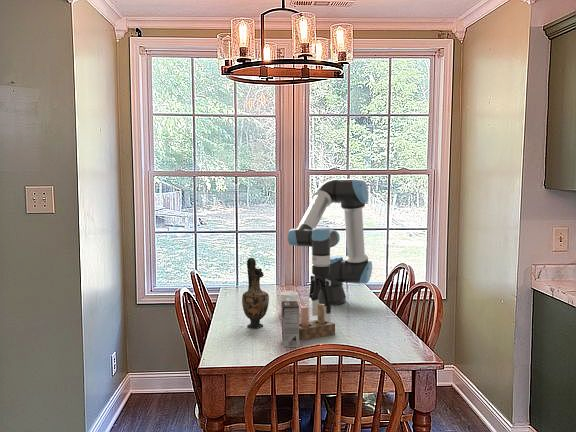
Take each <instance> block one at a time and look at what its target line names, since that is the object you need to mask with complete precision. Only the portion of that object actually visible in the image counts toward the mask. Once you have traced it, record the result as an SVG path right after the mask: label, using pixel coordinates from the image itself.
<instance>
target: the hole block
mask: <svg viewBox="0 0 576 432" xmlns="http://www.w3.org/2000/svg"><path fill="white" fill-rule="evenodd" d="M333 334H334V335H336V323H335V322H332V321H325V324H321V325H319V324H318V319H313V320H309V327H301V321H299V340H300V341H305V340H311V339H316V338H323V337H327V336H328V335H329V336H333Z"/></svg>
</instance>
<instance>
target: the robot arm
mask: <svg viewBox="0 0 576 432" xmlns="http://www.w3.org/2000/svg"><path fill="white" fill-rule="evenodd" d="M368 201H369V190H368V185H367V183H366V181H365V180H364V179H361V178H333V179H329V180H326V181H325V182H323V183H322V184H320V185H319V186H318V187H317V188H316V189H315V191H314V193H313V194H312V199H311V202H310V204H309V206H308V207H307V209H306V211H305V213H304V214H303V217H302V219H301V220H300V222H299V224H298V225H297V227H296V228H291V229H289V230H288V233H287V241H288V244H289V246H294V247H310V248H311V257H312V258H311V260H312V261H311V263H312V266H311V273H312V275H310V284H309V295H308V297H309V298H310V299H311V305H312V306H311V307H312V308H311V310H312V311H311V312H312V313H311V314H312V317H316V316H317V317H318V304H325V305H324V321H330V322H332V321H331V319H332V316H331V315H332V307H331V306H333V305H342V304H344V303H346V302H347V297H346V293H345V290H344V287H343V284H344V283H349V284H358V285H361V284H364V285H365V284H369V282H370V280H371V276H372V272H373V262H372V261H370V260H369V257H368V255H367V254H365V238H364V237H365V236H364V222H363V221H364V220H363V219H364V217H363V209H364V208H365V206H366V204H367V203H368ZM333 203H336V204H337V203H338V204H340V208H342V209H343V210H344V221H345V222H344V223H345V224H344V225H345V237H346V239H345V240H346V248H347V249H346V251H347V255H346V256H345V257H343V256H342V255H341V256H340V255H333V256H331V248H333V247H335V246H337V245H338V244H339V242H340V241H341V239H340V238H341V237H340V234H339V232H338V231H337V230H336V229H330V228H328V227H318V224H319V223H320V222H321V219H322V217H323V215H324V213H325V211H326V209H327V207H330V206H331V204H333Z"/></svg>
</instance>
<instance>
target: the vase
mask: <svg viewBox="0 0 576 432" xmlns="http://www.w3.org/2000/svg"><path fill="white" fill-rule="evenodd" d="M256 266H257V262H256V259H255V258H254V257H249V258H247V261H246V267H247V270H246V272H247V279H248V280H247V281H248V287H247V290H246V291H244V292H243V294H242V296H241V297H242V298H241V305H242V310H243V313H244V315H245V316H246V318H248V320H249V321H250V323H249V324H247V326H246V327H247V329H251V330H252V329H254V330H255V329H256V330H257V329H258V330H259V329H262V328H264V324H262V323H261V319H263V318H264V317H265V316H266V314H267V311H268V309H269V305H270V303H269V301H270V296H269V293H268V292H266V291H264V290H262V289H261V286H260V285H261V282H260V281H261V278H263V277H264V275H265V274H264V272H263V271H262V270H263V269H262V268H257V267H256Z"/></svg>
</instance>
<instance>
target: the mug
mask: <svg viewBox="0 0 576 432" xmlns="http://www.w3.org/2000/svg"><path fill="white" fill-rule="evenodd" d="M279 295H280V315H281V316H282V303H281V302H282V301H297V303H298V304H299V293H298V292H297V291H290V290H287V291H281V292H280V294H279Z"/></svg>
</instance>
